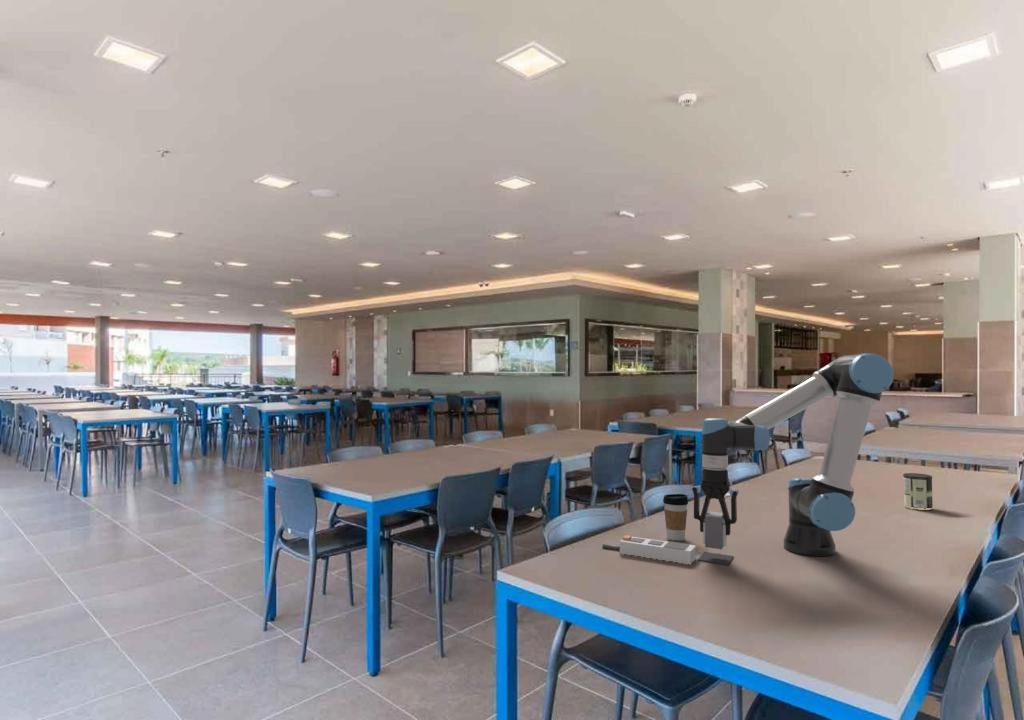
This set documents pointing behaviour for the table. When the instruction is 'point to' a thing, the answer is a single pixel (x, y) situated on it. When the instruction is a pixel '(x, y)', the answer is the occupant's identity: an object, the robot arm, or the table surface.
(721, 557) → the mat
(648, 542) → the power strip
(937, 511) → the table surface
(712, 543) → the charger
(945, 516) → the table surface
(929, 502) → the coffee can
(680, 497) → the coffee cup
